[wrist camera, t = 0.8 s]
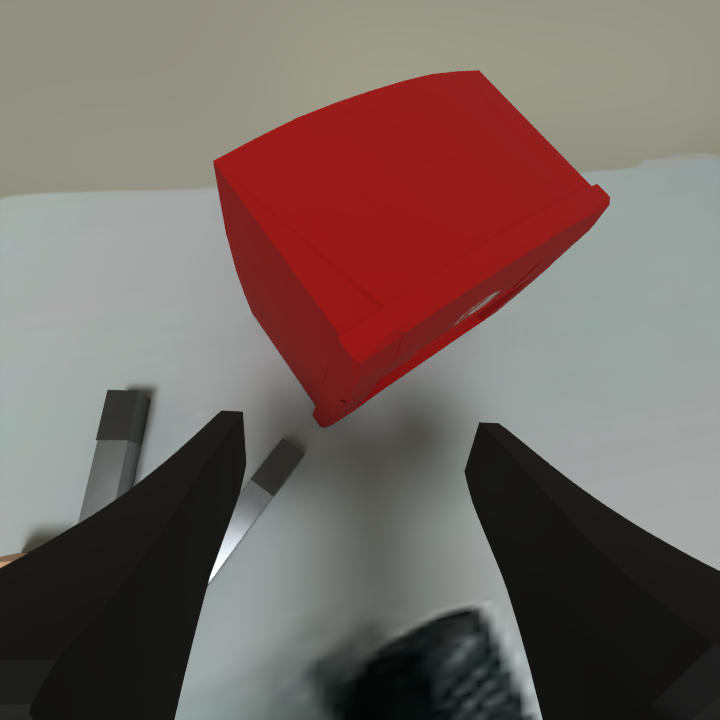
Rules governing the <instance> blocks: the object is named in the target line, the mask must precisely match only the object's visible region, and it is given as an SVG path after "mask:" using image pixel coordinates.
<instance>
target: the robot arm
mask: <svg viewBox="0 0 720 720" xmlns="http://www.w3.org/2000/svg"><path fill="white" fill-rule="evenodd" d="M245 468H246V452H245V437H244V422H243V412H239V411H221V412H219V413H218V414H217V415H216V416H215V417H214V418H213V419H212V420H211V421H210V422H209V423H207V424H206V425H205V426H204V427H203V428H202V429H201V430H200V431H199V432H198V433H197V434H196V435H195V436H194V437H192V438H191V439H190V440H189V441H188V442H187V443H186V444H185V445H184V446H182V447H181V448H180V449H179V450H178V451H177V452H176V453H175V454H173V455H172V456H171V457H170V458H169V459H168V460H166V461H165V462H164V463H163V464H162V465H160V466H159V467H158V468H157V469H155V470H154V471H153V472H152V473H150V474H149V475H148V476H147V477H145V478H144V479H143V480H142V481H140V482H139V483H138V484H137V485H135V486H134V487H133V488H131V489H130V490H128V491H127V492H126V493H124V494H123V495H121V496H120V497H119V498H117V499H116V500H114V501H113V502H111V503H110V504H108V505H107V506H105V507H104V508H102V509H101V510H99V511H98V512H96V513H95V514H93V515H92V516H90V517H88V518H87V519H85V520H83V521H82V522H80V523H78V524H77V525H75V526H74V527H72V528H70V529H69V530H67V531H65V532H64V533H62V534H60V535H59V536H57V537H55V538H54V539H52V540H50V541H49V542H47V543H45V544H43V545H42V546H40V547H38V548H36V549H34V550H33V551H31V552H29V553H27V554H25V555H24V556H22V557H20V558H18V559H16V560H14V561H12V562H10V563H8V564H7V565H5V566H3V567H1V568H0V720H174V719H175V714H176V710H177V706H178V701H179V697H180V693H181V689H182V684H183V680H184V676H185V671H186V667H187V663H188V659H189V655H190V651H191V647H192V643H193V639H194V635H195V631H196V627H197V623H198V619H199V616H200V612H201V608H202V604H203V600H204V596H205V593H206V589H207V586H208V583H209V579H210V576H211V573H212V570H213V567H214V565H215V562H216V559H217V556H218V554H219V551H220V548H221V545H222V542H223V540H224V537H225V534H226V531H227V529H228V526H229V523H230V520H231V518H232V515H233V512H234V509H235V506H236V503H237V501H238V498H239V494H240V490H241V486H242V482H243V477H244V473H245ZM465 475H466V480H467V484H468V488H469V491H470V495H471V499H472V502H473V505H474V507H475V510H476V513H477V515H478V518H479V520H480V523H481V525H482V528H483V530H484V532H485V535H486V537H487V540H488V542H489V545H490V547H491V549H492V552H493V554H494V557H495V559H496V562H497V564H498V567H499V569H500V571H501V574H502V577H503V580H504V582H505V585H506V588H507V591H508V594H509V597H510V600H511V604H512V607H513V610H514V614H515V617H516V620H517V624H518V627H519V630H520V634H521V638H522V641H523V645H524V649H525V652H526V656H527V659H528V663H529V667H530V670H531V674H532V678H533V682H534V686H535V690H536V694H537V698H538V702H539V706H540V710H541V714H542V718H543V720H720V571H719V570H717V569H715V568H713V567H711V566H709V565H707V564H705V563H703V562H701V561H699V560H697V559H695V558H693V557H691V556H689V555H688V554H686V553H684V552H682V551H680V550H678V549H677V548H675V547H673V546H671V545H670V544H668V543H666V542H664V541H663V540H661V539H659V538H657V537H655V536H654V535H652V534H650V533H649V532H647V531H645V530H644V529H642V528H640V527H639V526H637V525H635V524H634V523H632V522H630V521H629V520H627V519H626V518H624V517H623V516H621V515H620V514H618V513H616V512H615V511H613V510H612V509H610V508H609V507H607V506H606V505H604V504H603V503H601V502H600V501H598V500H597V499H595V498H594V497H593V496H591V495H590V494H588V493H587V492H586V491H584V490H583V489H582V488H580V487H579V486H577V485H576V484H575V483H573V482H572V481H571V480H569V479H568V478H567V477H565V476H564V475H563V474H562V473H560V472H559V471H558V470H556V469H555V468H554V467H553V466H551V465H550V464H549V463H548V462H546V461H545V460H544V459H543V458H541V457H540V456H539V455H538V454H536V453H535V452H534V451H533V450H532V449H530V448H529V447H528V446H527V445H525V444H524V443H523V442H522V441H521V440H519V439H518V438H517V437H516V436H514V435H513V434H512V433H511V432H509V431H508V430H507V429H506V428H504V427H503V426H501V425H500V424H499V423H482V422H479V425H478V429H477V432H476V435H475V439H474V442H473V445H472V448H471V452H470V455H469V458H468V462H467V465H466V468H465Z"/></svg>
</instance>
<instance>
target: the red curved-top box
mask: <svg viewBox="0 0 720 720" xmlns="http://www.w3.org/2000/svg"><path fill="white" fill-rule="evenodd" d="M213 163H214V168H215V174H216V179H217V185H218V191H219V197H220V202H221V208H222V213H223V219H224V224H225V230H226V235H227V238H228V242H229V245H230V249H231V253H232V257H233V260H234V264H235V268H236V271H237V274H238V277H239V280H240V283H241V285H242V288H243V291H244V294H245V296H246V299H247V301H248V304H249V306H250V309H251V311H252V313H253V315H254V316H255V318H256V319H257V321H258V322H259V323H260V325H261V326H262V328H263V329H264V331H265V332H266V334H267V335H268V337H269V338H270V340H271V341H272V343H273V344H274V345H275V347H276V348H277V350H278V351H279V353H280V354H281V356H282V357H283V359H284V360H285V362H286V363H287V364H288V366H289V367H290V369H291V370H292V372H293V373H294V375H295V376H296V378H297V379H298V381H299V382H300V383H301V385H302V386H303V388H304V389H305V391H306V392H307V394H308V395H309V397H310V398H311V400H312V401H313V402H314V404H315V405H316V407H315V410H314V413H313V417H314V418H315V420H316V421H317V423H318V424H319V426H321V427H324V428H325V427H328V426H330V425H332V424H334V423H335V422H337V421H339V420H340V419H342V418H343V417H345V416H346V415H348V414H350V413H351V412H353V411H354V410H356V408H358V407H360V406H361V405H362V404H364V403H365V402H366V401H368V400H369V399H371V398H372V397H373V396H375V395H376V394H377V393H379V392H380V391H382V390H383V389H385V388H386V387H387V386H389V385H390V384H392V383H393V382H395V381H396V380H398V379H399V378H401V377H402V376H403V375H405V374H406V373H408V372H409V371H411V370H412V369H414V368H415V367H417V366H418V365H419V364H421V363H422V362H424V361H425V360H427V359H428V358H430V357H431V356H433V355H434V354H435V353H437V352H438V351H440V350H441V349H443V348H444V347H446V346H447V345H448V344H450V343H451V342H453V341H454V340H456V339H457V338H459V337H460V336H462V335H463V334H465V333H466V332H467V331H469V330H470V329H472V328H473V327H475V326H476V325H478V324H479V323H481V322H482V321H484V320H485V319H487V318H488V317H490V316H491V315H492V314H494V313H495V312H497V311H498V310H499V309H500V308H502V307H503V306H504V305H505V304H506V303H508V302H509V301H510V300H511V299H512V298H514V297H515V296H516V295H517V294H518V293H520V292H521V291H522V290H523V289H524V288H525V287H527V286H528V285H529V284H530V283H531V282H532V281H533V280H535V279H536V278H537V277H538V276H539V275H540V274H542V273H543V272H544V271H545V270H546V269H547V268H548V267H550V266H551V264H552V263H553V262H554V261H555V260H557V259H558V258H559V257H560V256H561V255H562V254H563V253H564V252H565V251H567V250H568V249H569V248H570V247H571V246H572V245H573V244H574V243H575V242H577V241H578V240H579V239H580V238H581V237H582V236H583V235H584V234H585V233H587V232H588V231H589V230H590V229H591V228H592V226H593V225H594V224H595V223H596V221H597V220H598V219H599V217H600V216H601V215H602V214H603V212H604V211H605V210H606V208H607V207H608V206H609V203H610V197H609V196H608V195H607V193H606V192H605V191H604V190H603V189H602V188H601V187H600V186H599V185H598V184H596V185H594V186H591V185H590V184H589V183H588V182H587V181H586V180H585V179H584V178H583V177H582V176H581V175H580V174H579V173H578V172H577V171H576V170H575V169H574V168H573V167H572V166H571V165H570V164H569V163H568V162H567V161H566V160H565V159H564V158H563V156H562V155H561V154H560V153H558V151H557V150H556V149H555V148H554V147H553V146H552V145H551V144H550V143H549V142H548V141H547V140H546V139H545V138H544V137H543V136H542V135H541V134H540V133H539V132H538V131H537V130H536V129H535V128H534V127H533V126H532V125H531V124H530V123H529V121H527V119H526V118H525V117H524V116H523V115H522V114H521V113H520V112H519V111H518V110H517V109H516V108H515V107H514V106H513V105H512V104H511V103H510V102H509V101H508V100H507V99H506V98H505V97H504V96H503V95H502V94H501V93H500V92H499V91H498V90H497V89H496V88H495V86H494V85H493V84H492V83H491V82H489V80H488V79H487V78H486V77H485V76H484V75H483V74H482V73H481V72H480V71H479V70H478V71H457V72H448V73H438V74H431V75H427V76H422V77H418V78H414V79H410V80H406V81H402V82H398V83H395V84H392V85H389V86H385V87H382V88H379V89H375V90H373V91H369V92H366V93H363V94H360V95H357V96H354V97H351V98H348V99H345V100H342V101H340V102H337V103H334V104H331V105H329V106H326V107H324V108H321V109H319V110H316V111H313V112H311V113H309V114H306V115H303V116H301V117H298V118H296V119H294V120H292V121H290V122H288V123H286V124H284V125H282V126H280V127H278V128H276V129H274V130H272V131H270V132H268V133H266V134H264V135H262V136H260V137H258V138H256V139H254V140H252V141H250V142H248V143H246V144H244V145H243V146H241V147H239V148H237V149H235V150H233V151H231V152H229V153H228V154H226V155H224V156H222V157H220V158H218V159H216V160H214V161H213ZM340 400H343V401H345V402H346V403H345V402H343V401H340Z"/></svg>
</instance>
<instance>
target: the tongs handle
mask: <svg viewBox="0 0 720 720" xmlns="http://www.w3.org/2000/svg"><path fill="white" fill-rule="evenodd" d="M149 402H150V399H149V398H148V397H146V396H145V395H143V394H142V393H140V392H139V391H125V390H108V391H107V395H106V399H105V404H104V408H103V412H102V416H101V421H100V425H99V429H98V433H97V438H96V440H98V441H97V445H96V450H95V454H94V458H93V463H92V467H91V471H90V475H89V480H88V484H87V488H86V493H85V497H84V501H83V505H82V510H81V514H80V518H79V523H80V522H82V521H83V520H85V519H87V518H88V517H90V516H92V515H93V514H95V513H96V512H98V511H99V510H101V509H102V508H104V507H105V506H107V505H108V504H110V503H111V502H113V501H114V500H116V499H117V498H119V497H120V496H121V495H123V494H124V493H126V492H127V491H128V490H130V489H131V488H132V486H133V481H134V475H135V470H136V465H137V460H138V455H139V450H140V445H141V444H142V438H143V433H144V428H145V423H146V418H147V412H148V407H149Z"/></svg>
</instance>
